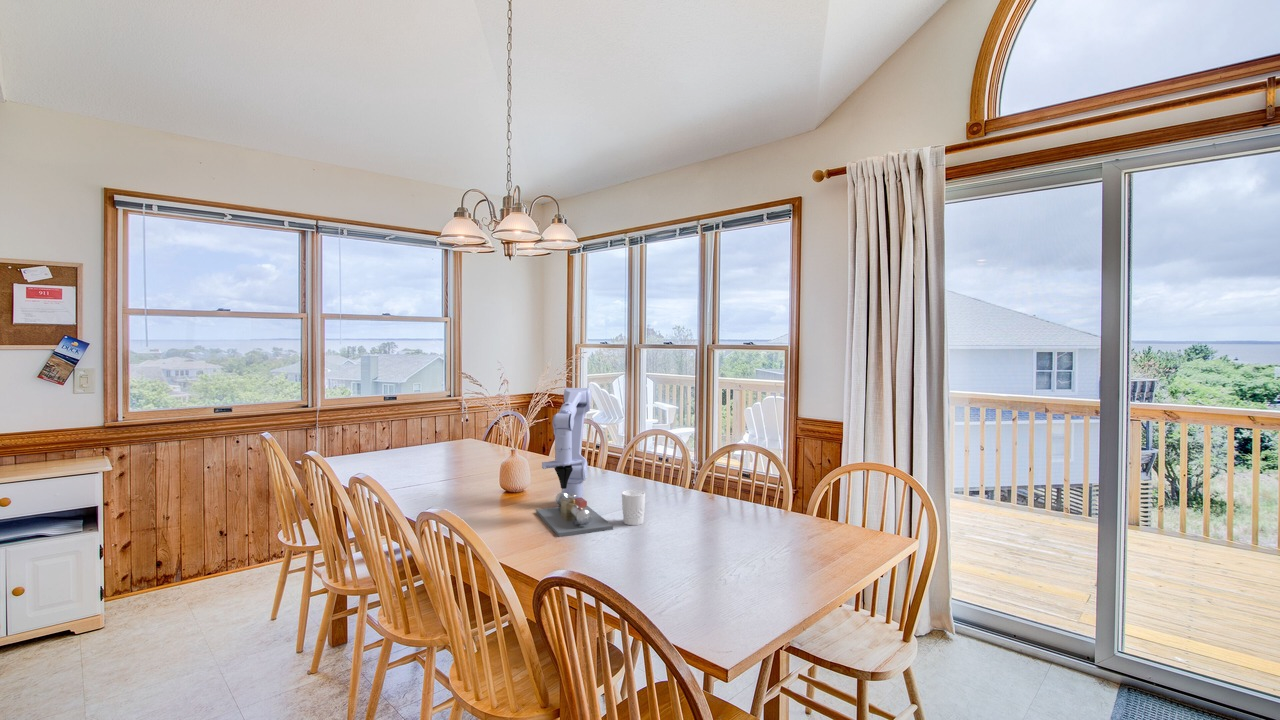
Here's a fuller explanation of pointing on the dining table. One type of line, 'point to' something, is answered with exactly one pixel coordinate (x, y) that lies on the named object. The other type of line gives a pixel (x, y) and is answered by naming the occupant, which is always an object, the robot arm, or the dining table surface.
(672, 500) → the dining table surface
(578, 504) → the valve lever
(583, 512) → the valve body
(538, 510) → the mounting board
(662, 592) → the dining table surface
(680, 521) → the dining table surface
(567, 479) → the robot arm
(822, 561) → the dining table surface
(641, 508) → the white cup
